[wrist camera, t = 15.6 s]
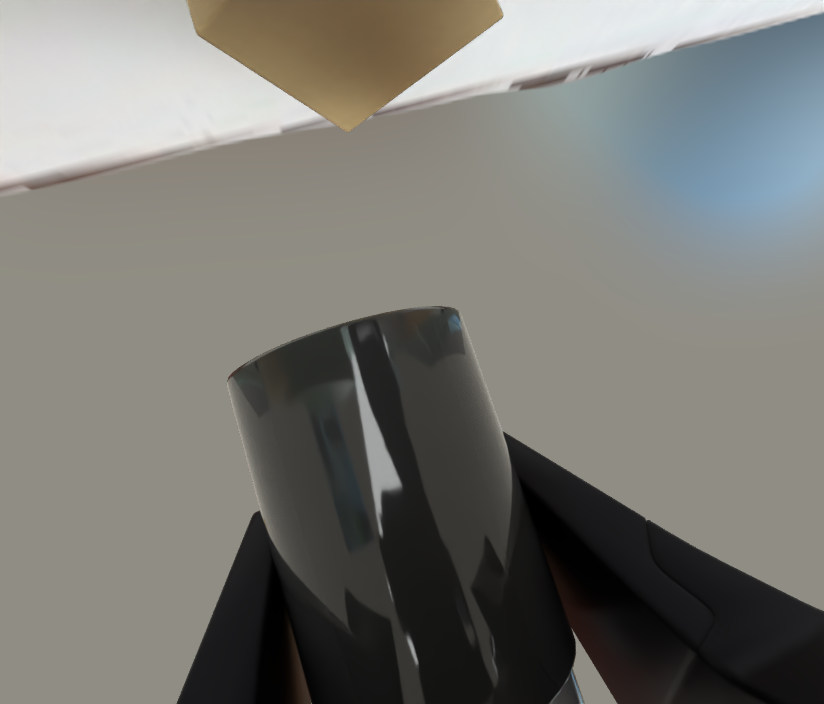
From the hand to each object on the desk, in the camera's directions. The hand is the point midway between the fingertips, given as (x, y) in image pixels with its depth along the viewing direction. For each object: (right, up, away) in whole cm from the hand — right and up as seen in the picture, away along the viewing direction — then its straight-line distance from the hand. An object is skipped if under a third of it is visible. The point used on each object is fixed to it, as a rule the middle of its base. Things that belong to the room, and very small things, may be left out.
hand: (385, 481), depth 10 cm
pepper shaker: (-1, +3, -1) cm, 3 cm away
